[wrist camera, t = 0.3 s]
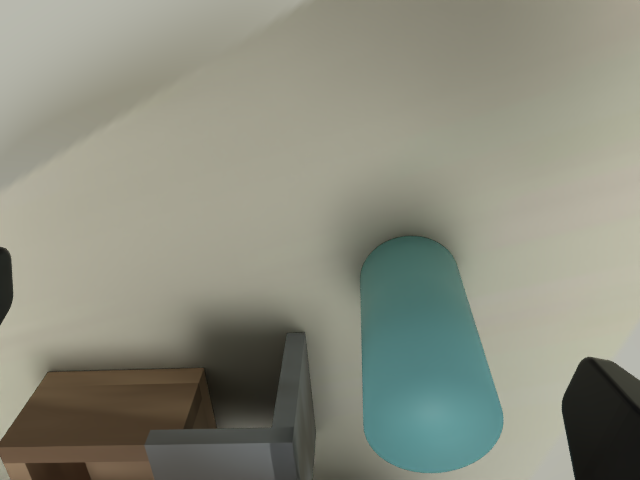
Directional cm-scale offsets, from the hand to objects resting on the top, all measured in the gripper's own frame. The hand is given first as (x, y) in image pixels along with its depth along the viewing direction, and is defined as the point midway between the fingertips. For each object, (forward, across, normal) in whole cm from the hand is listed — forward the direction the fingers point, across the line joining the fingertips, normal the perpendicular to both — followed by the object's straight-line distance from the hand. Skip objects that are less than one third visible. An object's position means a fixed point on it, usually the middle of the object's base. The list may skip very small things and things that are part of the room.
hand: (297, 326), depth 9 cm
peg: (+13, -5, +6) cm, 15 cm away
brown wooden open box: (+14, +4, +16) cm, 21 cm away
